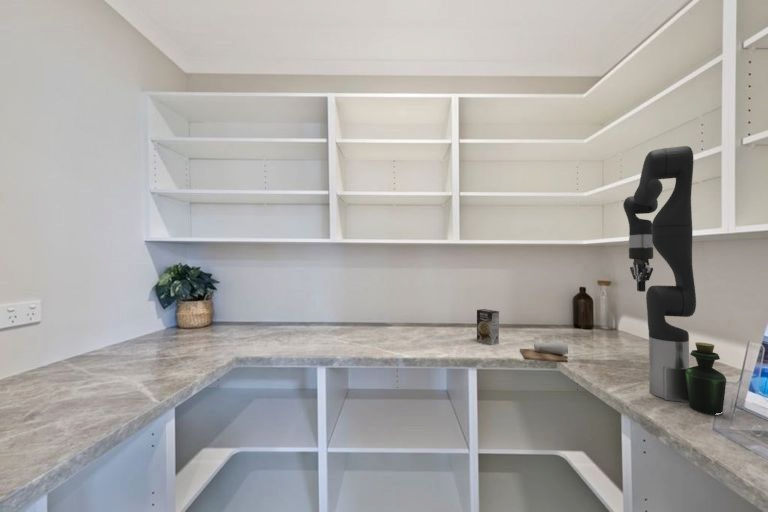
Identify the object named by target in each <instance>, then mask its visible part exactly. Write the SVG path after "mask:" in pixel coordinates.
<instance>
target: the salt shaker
mask: <svg viewBox="0 0 768 512" xmlns="http://www.w3.org/2000/svg"><path fill="white" fill-rule="evenodd" d="M533 349H535V351H536V352H540V351H545V352H549V353H554V354H559V355H563V356H564V355H567V354H569V345H568V343H567V342H565V341H562V340H558V341H551V342H543V343H541V342H540V341H535V342H534V343H533Z"/></svg>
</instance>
